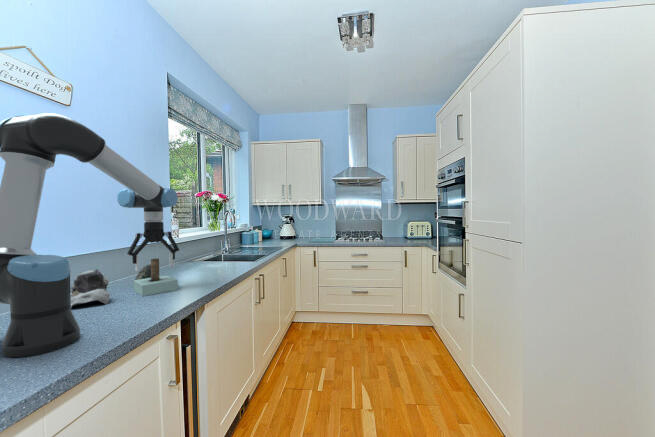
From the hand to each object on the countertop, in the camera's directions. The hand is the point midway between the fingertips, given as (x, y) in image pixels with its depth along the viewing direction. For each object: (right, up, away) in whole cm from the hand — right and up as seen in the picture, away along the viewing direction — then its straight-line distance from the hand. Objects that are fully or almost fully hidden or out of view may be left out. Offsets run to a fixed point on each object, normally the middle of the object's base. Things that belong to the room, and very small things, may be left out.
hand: (154, 269), depth 135 cm
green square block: (0, -9, +1) cm, 10 cm away
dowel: (0, -9, 0) cm, 10 cm away
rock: (-11, -10, +10) cm, 18 cm away
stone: (-14, -10, -19) cm, 26 cm away
